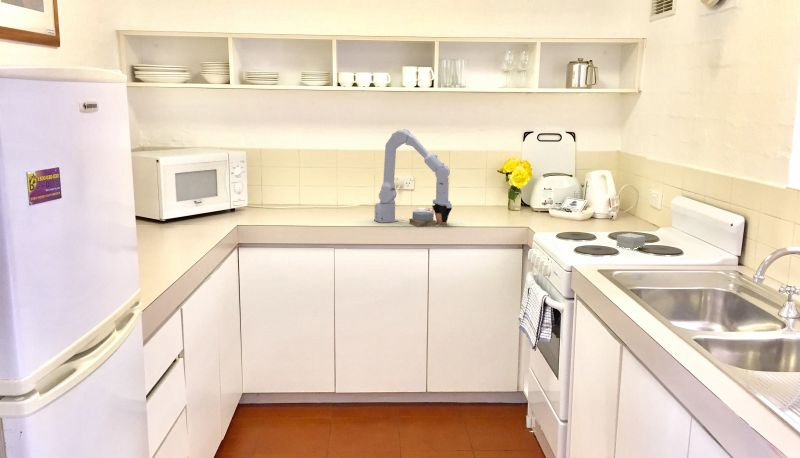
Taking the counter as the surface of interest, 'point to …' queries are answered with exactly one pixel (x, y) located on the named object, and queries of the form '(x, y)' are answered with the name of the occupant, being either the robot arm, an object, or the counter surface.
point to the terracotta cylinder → (439, 219)
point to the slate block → (422, 216)
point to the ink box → (424, 210)
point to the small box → (630, 240)
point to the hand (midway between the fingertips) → (441, 221)
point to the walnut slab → (422, 223)
